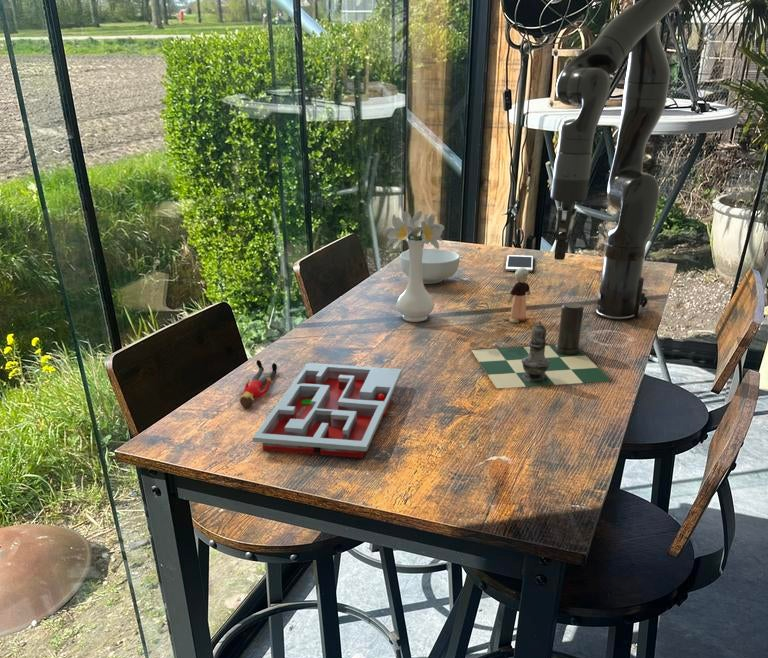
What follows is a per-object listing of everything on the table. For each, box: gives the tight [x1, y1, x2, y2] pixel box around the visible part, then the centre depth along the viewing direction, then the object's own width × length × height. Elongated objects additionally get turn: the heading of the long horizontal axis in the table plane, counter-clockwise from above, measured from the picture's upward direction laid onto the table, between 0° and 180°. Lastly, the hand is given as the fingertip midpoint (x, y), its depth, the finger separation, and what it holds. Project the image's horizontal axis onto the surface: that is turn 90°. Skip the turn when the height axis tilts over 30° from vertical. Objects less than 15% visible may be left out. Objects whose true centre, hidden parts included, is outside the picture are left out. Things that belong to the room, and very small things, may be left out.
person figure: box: [239, 359, 278, 409], centre depth 159 cm, size 5×4×18 cm
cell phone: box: [505, 254, 534, 272], centre depth 240 cm, size 8×16×1 cm, turn 171°
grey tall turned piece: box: [521, 320, 551, 383], centre depth 161 cm, size 6×6×12 cm
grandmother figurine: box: [507, 268, 532, 324], centre depth 193 cm, size 8×4×13 cm, turn 143°
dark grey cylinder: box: [555, 301, 585, 355], centre depth 175 cm, size 5×5×10 cm
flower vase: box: [385, 210, 445, 323], centre depth 192 cm, size 13×18×25 cm
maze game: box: [252, 362, 403, 459], centre depth 148 cm, size 35×20×3 cm, turn 169°
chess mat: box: [470, 344, 612, 390], centre depth 170 cm, size 24×22×1 cm
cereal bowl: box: [399, 248, 460, 285], centre depth 225 cm, size 17×17×7 cm
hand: (561, 254), depth 175 cm, fingers open, 8 cm apart
